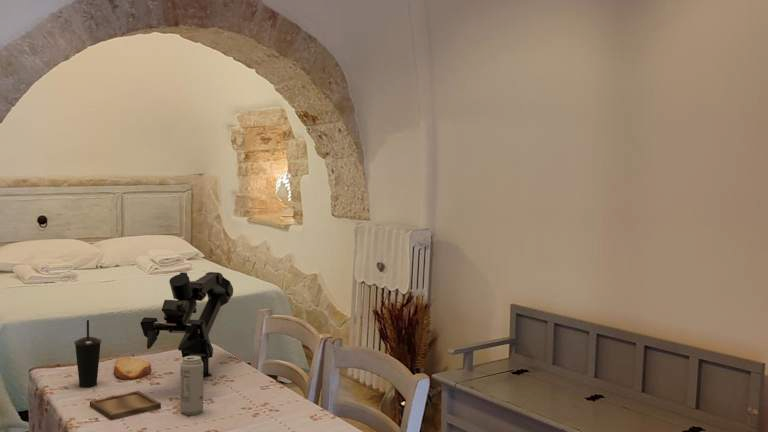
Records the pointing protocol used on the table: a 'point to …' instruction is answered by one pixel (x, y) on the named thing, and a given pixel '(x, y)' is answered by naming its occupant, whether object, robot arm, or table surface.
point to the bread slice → (131, 368)
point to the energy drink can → (191, 385)
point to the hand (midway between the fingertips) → (163, 348)
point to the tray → (125, 405)
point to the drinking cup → (87, 359)
